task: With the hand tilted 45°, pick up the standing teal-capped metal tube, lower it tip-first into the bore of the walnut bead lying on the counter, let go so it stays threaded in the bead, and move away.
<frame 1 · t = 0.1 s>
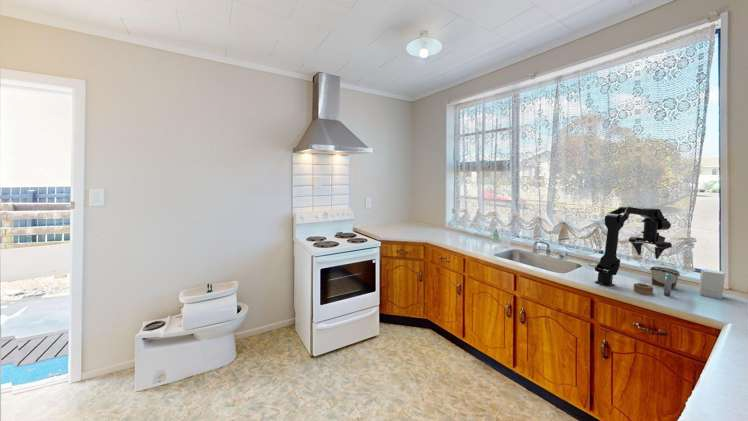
hand: (647, 256, 168), 15 cm above the counter, tool pointing down, fingers open, 9 cm apart
supplement box: (709, 295, 148), on the counter
food container: (665, 286, 161), on the counter
bead: (642, 291, 152), on the counter
teal-capped metal tube: (666, 295, 147), on the counter
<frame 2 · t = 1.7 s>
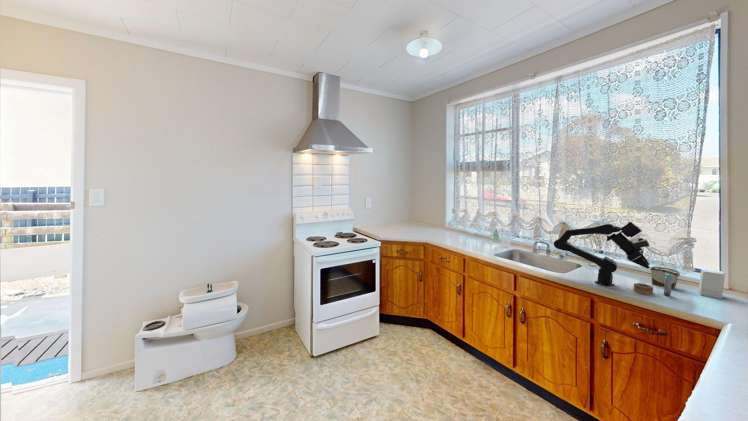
hand: (648, 266, 151), 14 cm above the counter, tool tilted 45°, fingers open, 9 cm apart
nothing on the counter moved.
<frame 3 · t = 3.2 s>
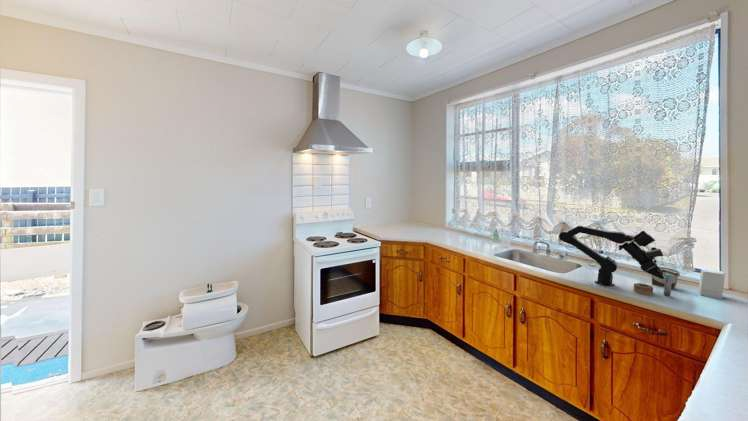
hand: (663, 276, 148), 9 cm above the counter, tool tilted 45°, fingers open, 9 cm apart
nothing on the counter moved.
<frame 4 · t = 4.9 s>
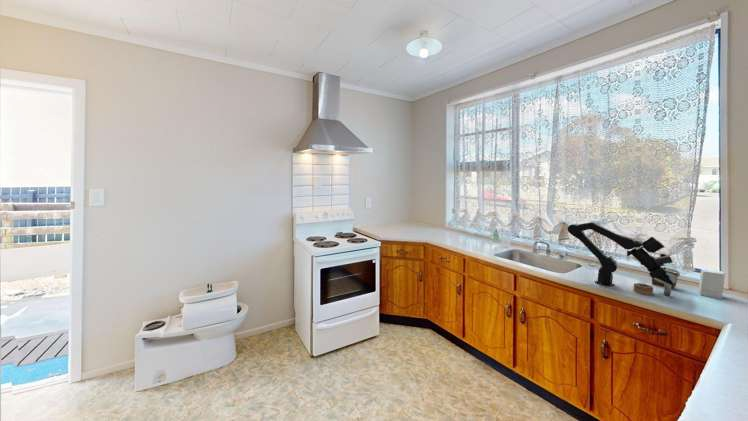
hand: (672, 283, 146), 7 cm above the counter, tool tilted 45°, fingers closed on teal-capped metal tube, 2 cm apart
teal-capped metal tube: (666, 295, 147), on the counter, touching gripper
everything else where it was.
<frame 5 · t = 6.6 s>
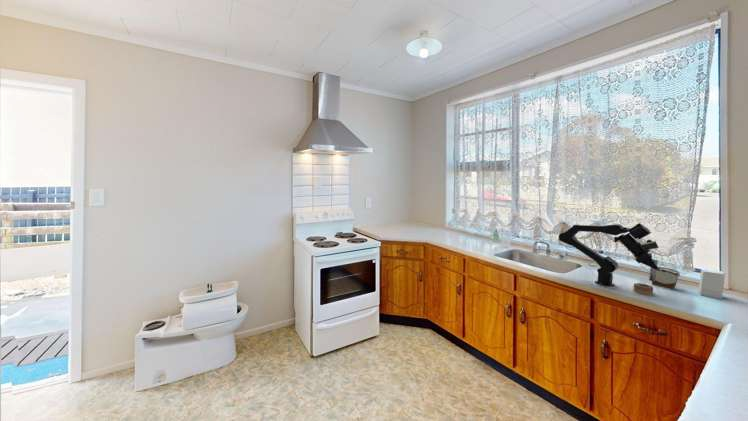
hand: (657, 268, 148), 13 cm above the counter, tool tilted 45°, fingers closed on teal-capped metal tube, 2 cm apart
teal-capped metal tube: (652, 280, 150), point 7 cm above the counter, touching gripper
everything else where it was.
when the fingers open (8 cm above the counter, at t = 8.4 s): teal-capped metal tube drops 1 cm, resting in bead.
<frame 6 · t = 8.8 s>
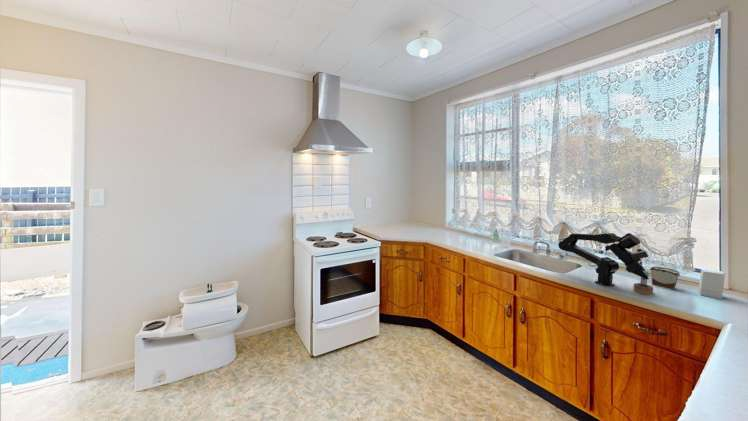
hand: (647, 277, 150), 8 cm above the counter, tool tilted 45°, fingers open, 7 cm apart
teal-capped metal tube: (642, 291, 152), resting in bead
everything else where it was.
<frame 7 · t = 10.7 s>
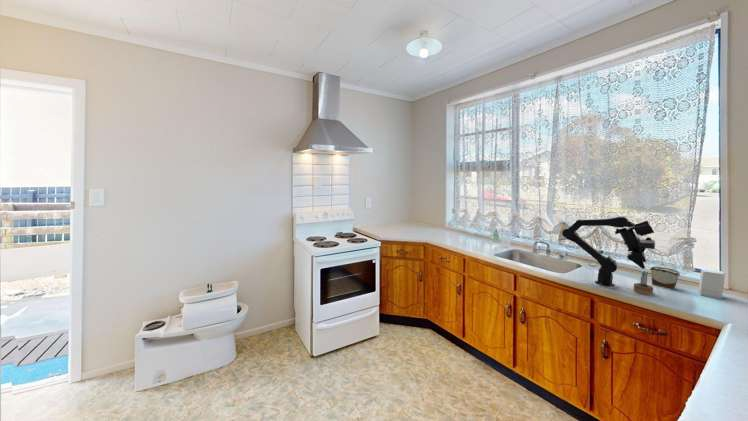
hand: (644, 265, 155), 13 cm above the counter, tool tilted 25°, fingers open, 9 cm apart
nothing on the counter moved.
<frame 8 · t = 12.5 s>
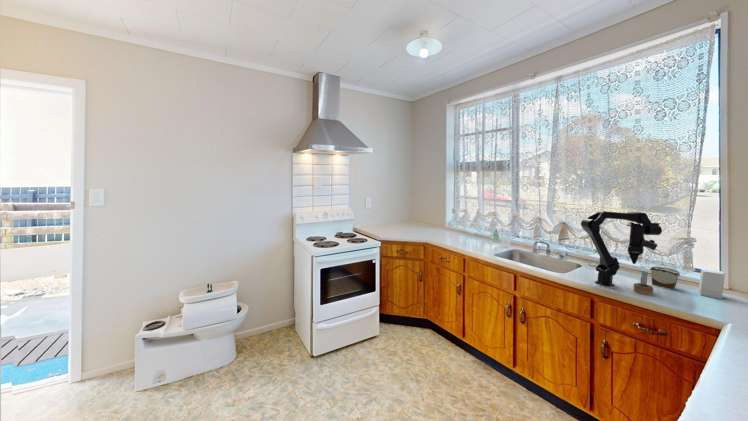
hand: (634, 262, 162), 13 cm above the counter, tool pointing down, fingers open, 9 cm apart
nothing on the counter moved.
at the end: teal-capped metal tube 0.1 cm from the bead (horizontally); teal-capped metal tube resting in bead; the gripper is holding nothing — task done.
